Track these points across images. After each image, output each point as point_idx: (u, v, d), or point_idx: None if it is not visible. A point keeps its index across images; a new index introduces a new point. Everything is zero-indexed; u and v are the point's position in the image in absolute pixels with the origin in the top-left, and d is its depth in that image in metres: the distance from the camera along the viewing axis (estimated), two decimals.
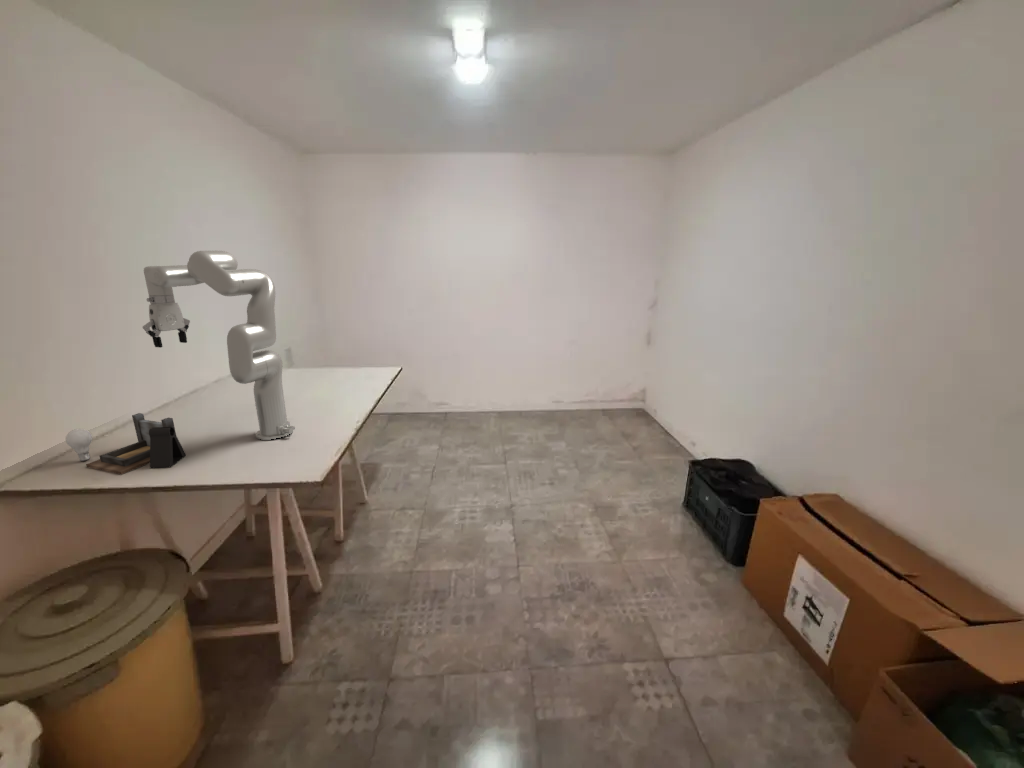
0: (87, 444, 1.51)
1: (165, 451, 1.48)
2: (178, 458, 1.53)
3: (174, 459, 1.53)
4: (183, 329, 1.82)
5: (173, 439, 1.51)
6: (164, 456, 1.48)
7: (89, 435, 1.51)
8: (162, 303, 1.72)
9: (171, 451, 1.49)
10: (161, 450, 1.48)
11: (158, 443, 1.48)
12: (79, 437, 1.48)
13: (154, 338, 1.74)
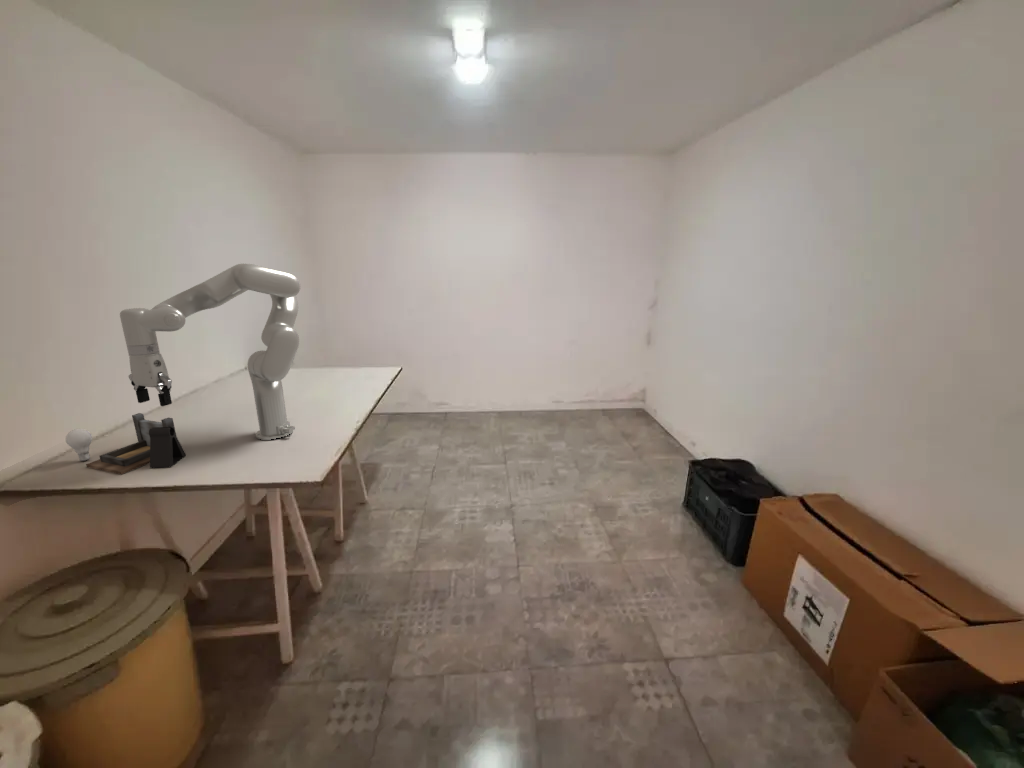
0: (87, 444, 1.51)
1: (165, 451, 1.48)
2: (178, 458, 1.53)
3: (174, 459, 1.53)
4: None
5: (173, 439, 1.51)
6: (164, 456, 1.48)
7: (89, 435, 1.51)
8: (159, 351, 1.44)
9: (171, 451, 1.49)
10: (161, 450, 1.48)
11: (158, 443, 1.48)
12: (79, 437, 1.48)
13: (166, 394, 1.43)
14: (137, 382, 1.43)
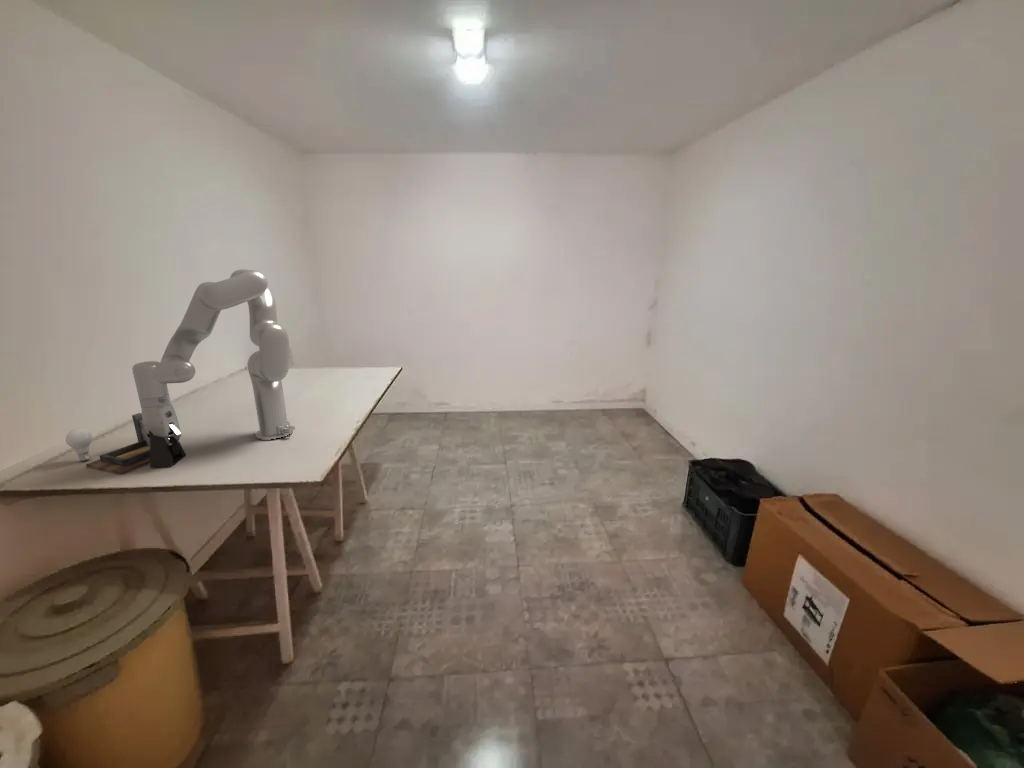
0: (87, 444, 1.51)
1: (165, 451, 1.48)
2: (178, 458, 1.53)
3: (174, 459, 1.53)
4: None
5: None
6: (164, 456, 1.48)
7: (89, 435, 1.51)
8: None
9: None
10: (161, 450, 1.48)
11: (158, 443, 1.48)
12: (79, 437, 1.48)
13: (174, 445, 1.49)
14: None
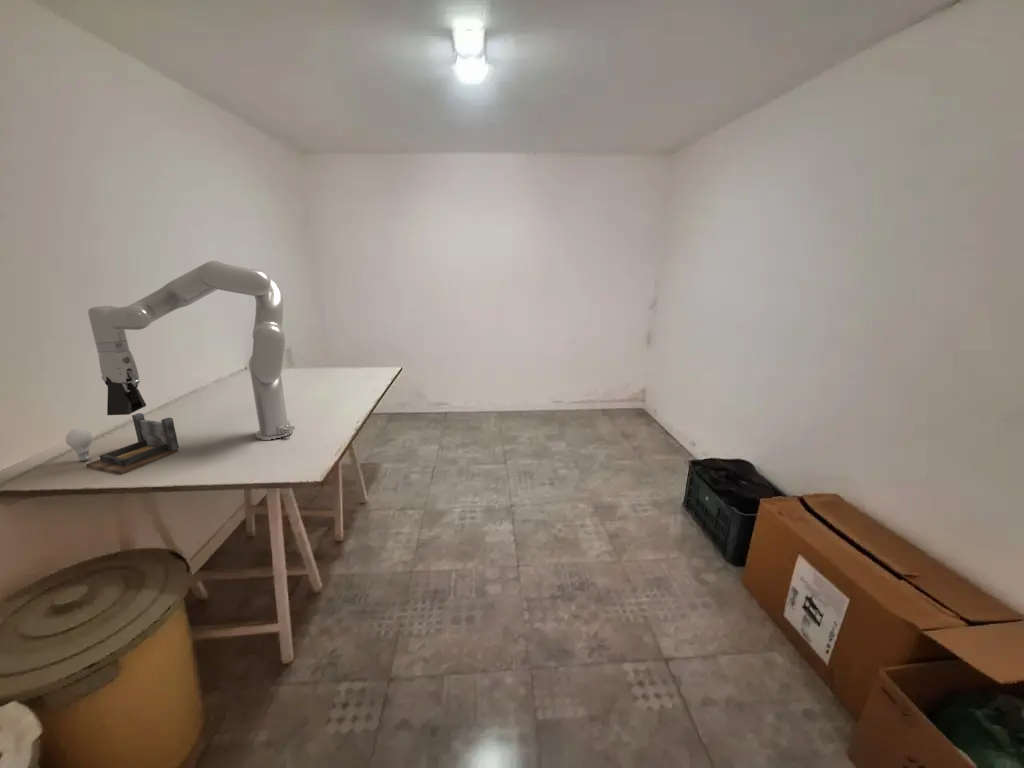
0: (87, 444, 1.51)
1: (123, 398, 1.46)
2: (137, 407, 1.52)
3: (133, 408, 1.51)
4: None
5: None
6: (122, 403, 1.46)
7: (89, 435, 1.51)
8: (128, 348, 1.47)
9: (129, 398, 1.47)
10: (119, 397, 1.46)
11: (116, 390, 1.46)
12: (79, 437, 1.48)
13: (133, 392, 1.47)
14: None
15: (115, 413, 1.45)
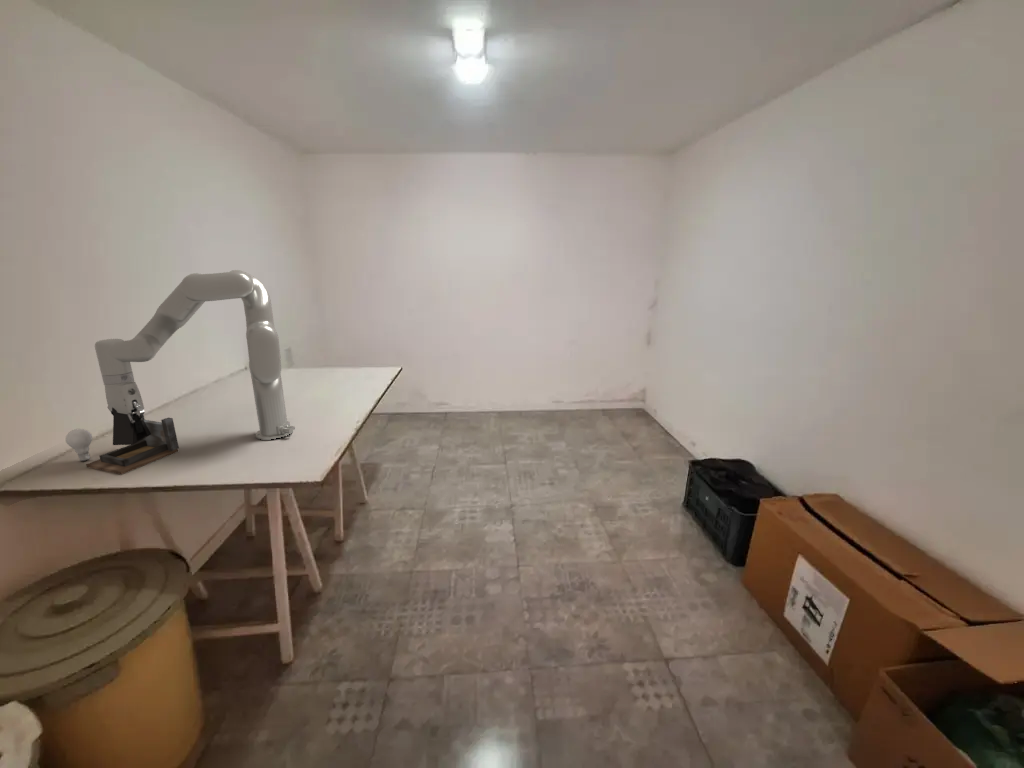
0: (87, 444, 1.51)
1: (128, 428, 1.49)
2: (142, 436, 1.55)
3: (138, 437, 1.54)
4: None
5: None
6: (127, 433, 1.49)
7: (89, 435, 1.51)
8: None
9: None
10: (124, 427, 1.49)
11: (121, 420, 1.49)
12: (79, 437, 1.48)
13: (138, 423, 1.50)
14: None
15: (120, 443, 1.48)
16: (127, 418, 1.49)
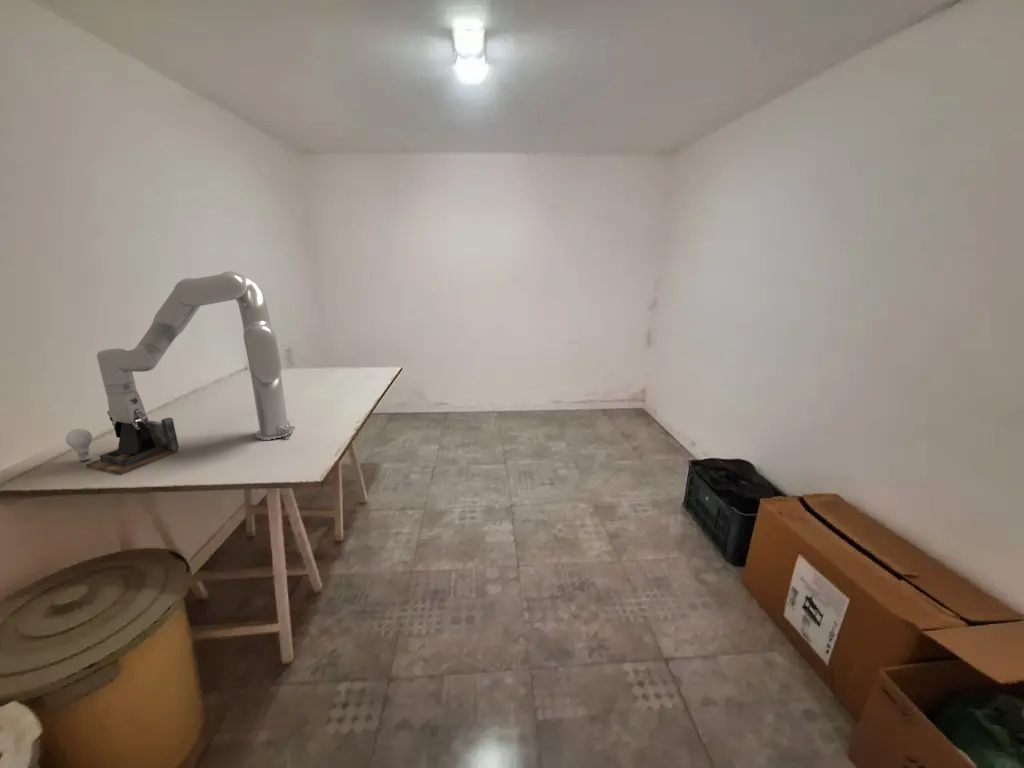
0: (87, 444, 1.51)
1: (134, 438, 1.51)
2: (147, 449, 1.56)
3: (142, 449, 1.55)
4: None
5: None
6: (133, 443, 1.51)
7: (89, 435, 1.51)
8: None
9: None
10: (130, 437, 1.51)
11: (128, 430, 1.52)
12: (79, 437, 1.48)
13: (143, 429, 1.50)
14: (115, 418, 1.50)
15: (125, 453, 1.50)
16: (134, 428, 1.52)
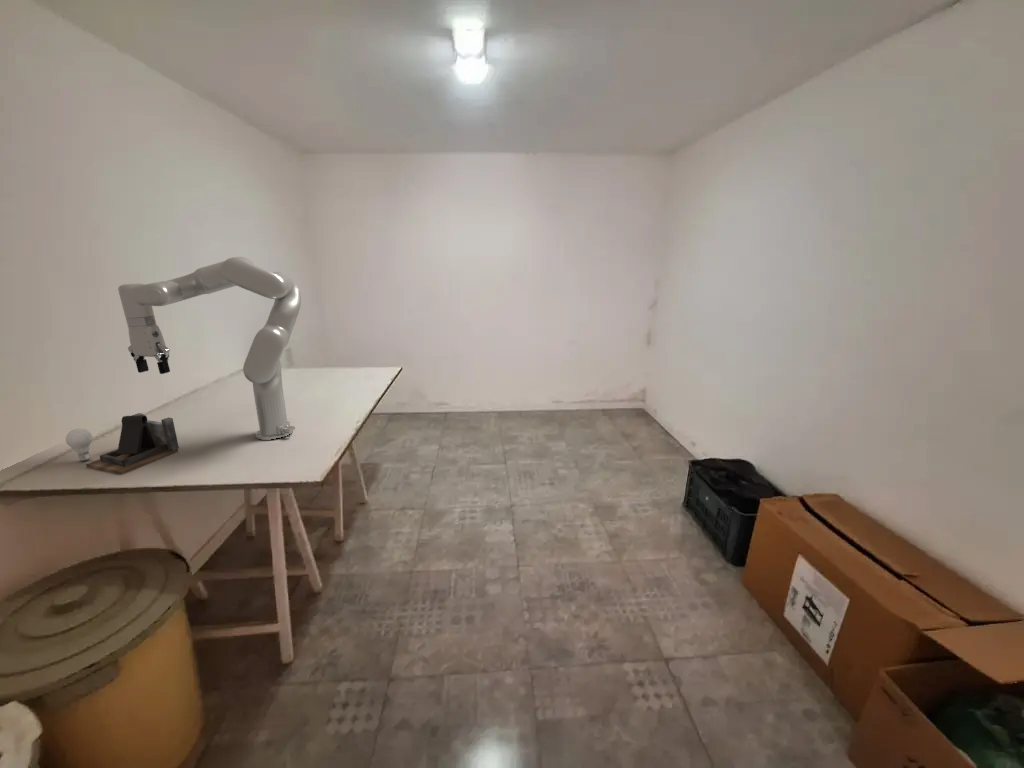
0: (87, 444, 1.51)
1: (134, 438, 1.51)
2: (147, 449, 1.56)
3: (142, 449, 1.55)
4: None
5: (144, 428, 1.55)
6: (133, 443, 1.51)
7: (89, 435, 1.51)
8: None
9: (140, 438, 1.52)
10: (131, 437, 1.51)
11: (129, 430, 1.52)
12: (79, 437, 1.48)
13: (165, 362, 1.56)
14: (137, 352, 1.55)
15: (124, 452, 1.50)
16: (135, 428, 1.52)
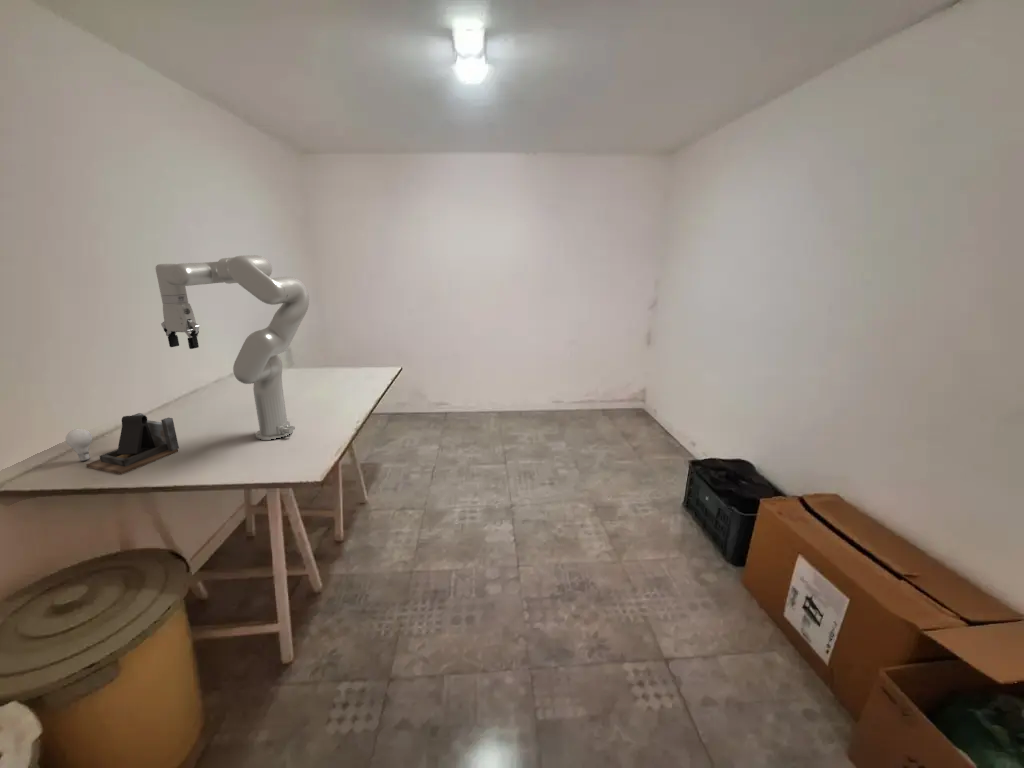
0: (87, 444, 1.51)
1: (134, 438, 1.51)
2: (147, 449, 1.56)
3: (142, 449, 1.55)
4: None
5: (144, 428, 1.55)
6: (133, 443, 1.51)
7: (89, 435, 1.51)
8: None
9: (140, 438, 1.52)
10: (130, 437, 1.51)
11: (129, 430, 1.52)
12: (79, 437, 1.48)
13: (194, 338, 1.67)
14: (169, 328, 1.66)
15: (124, 452, 1.50)
16: (135, 428, 1.52)
